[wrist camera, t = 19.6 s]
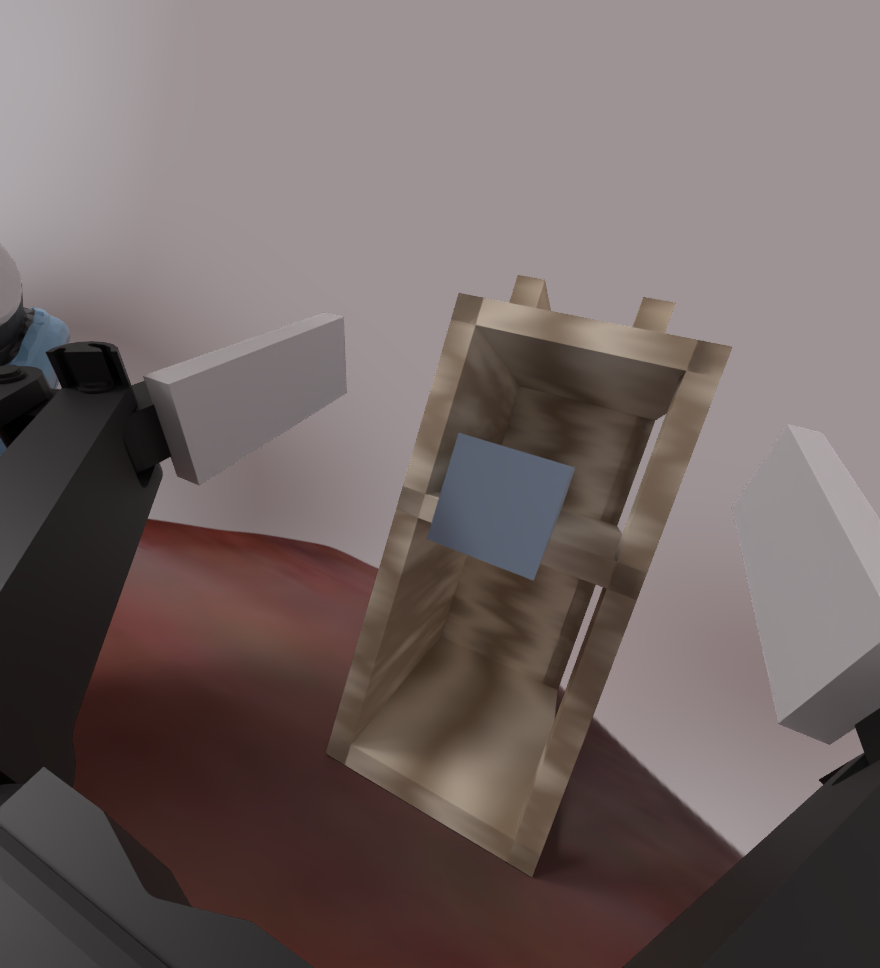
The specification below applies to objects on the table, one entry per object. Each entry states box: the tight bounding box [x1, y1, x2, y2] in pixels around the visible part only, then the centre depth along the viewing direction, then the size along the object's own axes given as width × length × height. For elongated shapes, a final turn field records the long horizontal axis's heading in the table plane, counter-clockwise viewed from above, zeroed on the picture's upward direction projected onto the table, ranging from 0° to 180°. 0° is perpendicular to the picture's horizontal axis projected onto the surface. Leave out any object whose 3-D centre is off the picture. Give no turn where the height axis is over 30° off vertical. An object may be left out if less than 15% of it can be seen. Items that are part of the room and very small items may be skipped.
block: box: [427, 433, 575, 580], centre depth 27 cm, size 4×26×4 cm, turn 161°
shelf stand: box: [326, 275, 732, 877], centre depth 33 cm, size 14×20×32 cm
